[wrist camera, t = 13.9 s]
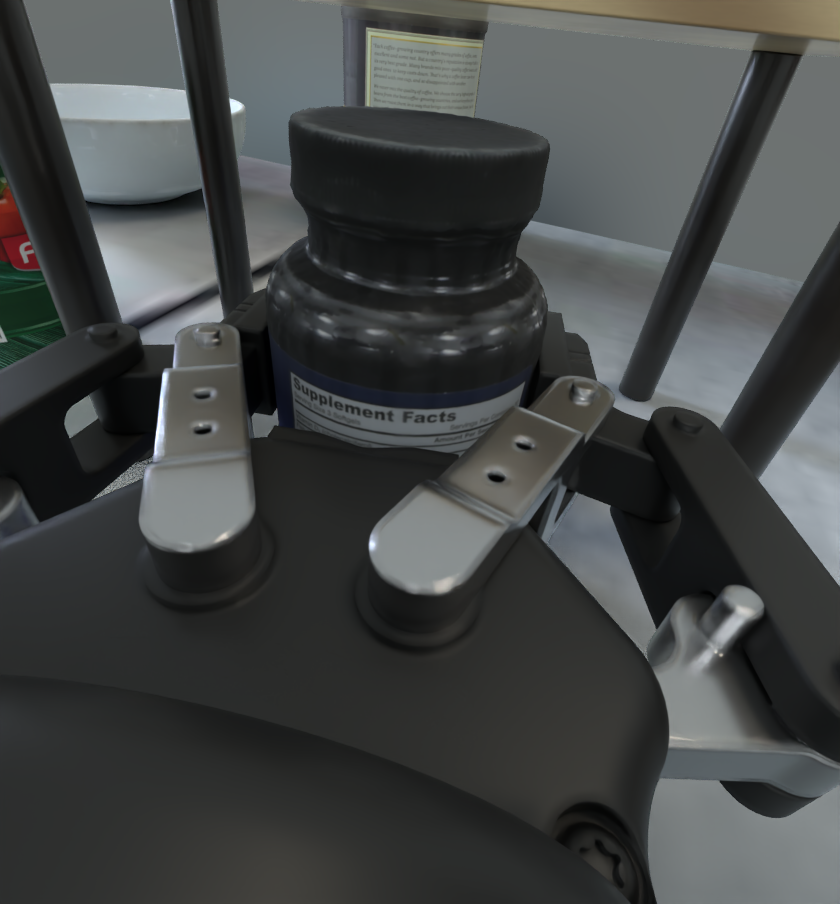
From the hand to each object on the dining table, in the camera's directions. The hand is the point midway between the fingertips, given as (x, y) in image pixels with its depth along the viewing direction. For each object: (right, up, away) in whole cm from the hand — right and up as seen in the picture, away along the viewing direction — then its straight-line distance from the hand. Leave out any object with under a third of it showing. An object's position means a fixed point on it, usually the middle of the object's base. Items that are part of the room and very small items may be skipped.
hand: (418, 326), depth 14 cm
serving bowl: (-25, +19, +31) cm, 44 cm away
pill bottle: (-1, -6, +2) cm, 7 cm away
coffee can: (-1, +16, +31) cm, 35 cm away
